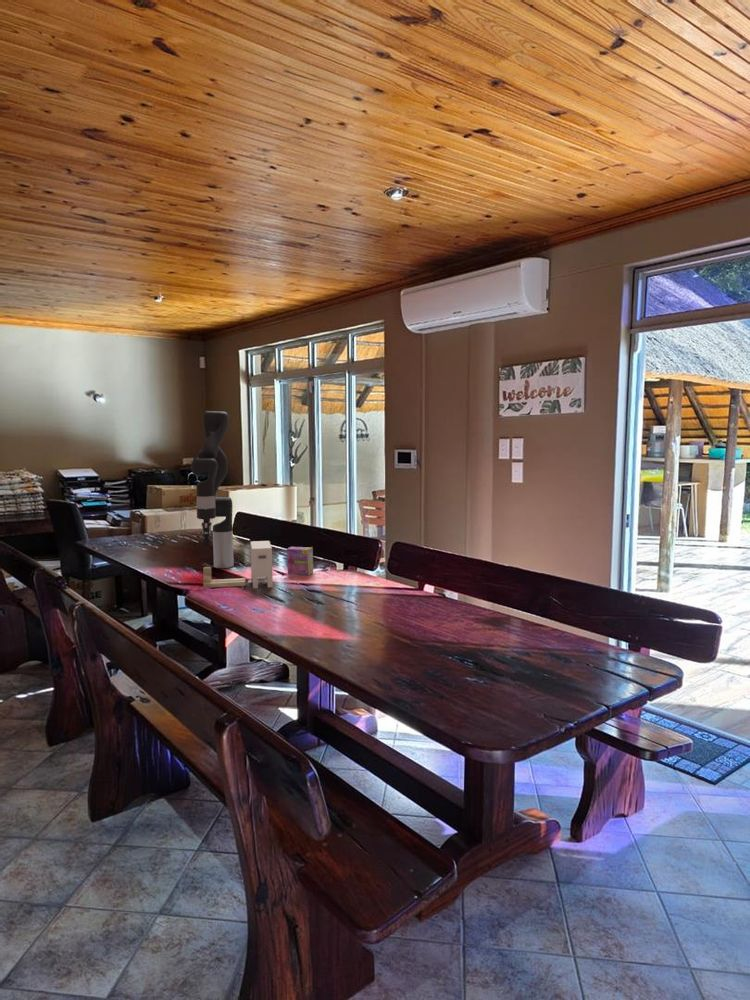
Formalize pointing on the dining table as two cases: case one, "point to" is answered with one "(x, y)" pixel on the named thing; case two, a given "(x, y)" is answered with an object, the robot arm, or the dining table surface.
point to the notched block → (261, 562)
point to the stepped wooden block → (220, 580)
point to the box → (300, 560)
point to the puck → (262, 580)
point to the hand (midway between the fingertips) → (207, 545)
